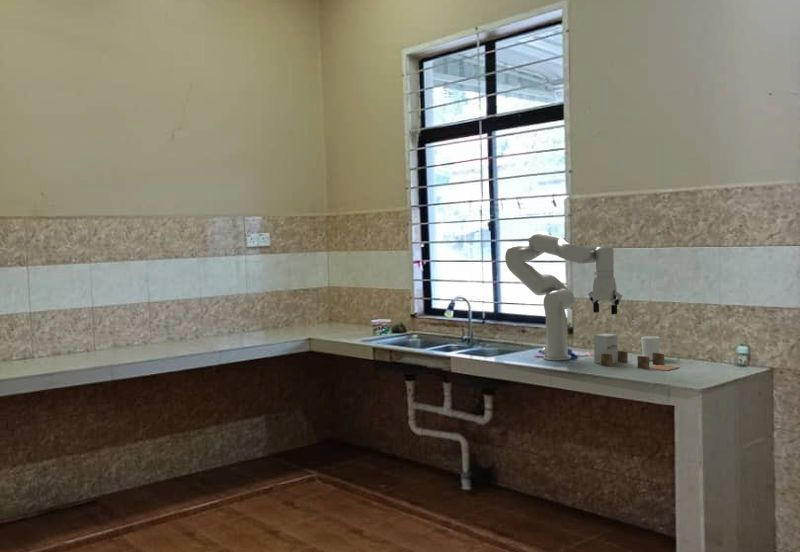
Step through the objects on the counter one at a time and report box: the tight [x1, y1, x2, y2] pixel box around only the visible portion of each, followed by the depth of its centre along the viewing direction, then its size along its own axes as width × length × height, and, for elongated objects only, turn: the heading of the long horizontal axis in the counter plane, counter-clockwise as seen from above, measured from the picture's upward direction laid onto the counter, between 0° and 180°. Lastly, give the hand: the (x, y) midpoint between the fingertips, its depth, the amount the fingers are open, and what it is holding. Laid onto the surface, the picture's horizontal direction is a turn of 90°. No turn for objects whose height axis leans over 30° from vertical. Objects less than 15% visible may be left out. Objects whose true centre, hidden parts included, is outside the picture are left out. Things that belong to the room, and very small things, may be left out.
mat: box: [649, 364, 680, 372], centre depth 319 cm, size 9×9×1 cm
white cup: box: [640, 335, 661, 361], centre depth 341 cm, size 8×8×10 cm
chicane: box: [600, 349, 665, 370], centre depth 328 cm, size 20×17×5 cm
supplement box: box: [593, 333, 619, 365], centre depth 336 cm, size 7×7×13 cm
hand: (605, 313), depth 335 cm, fingers open, 9 cm apart
